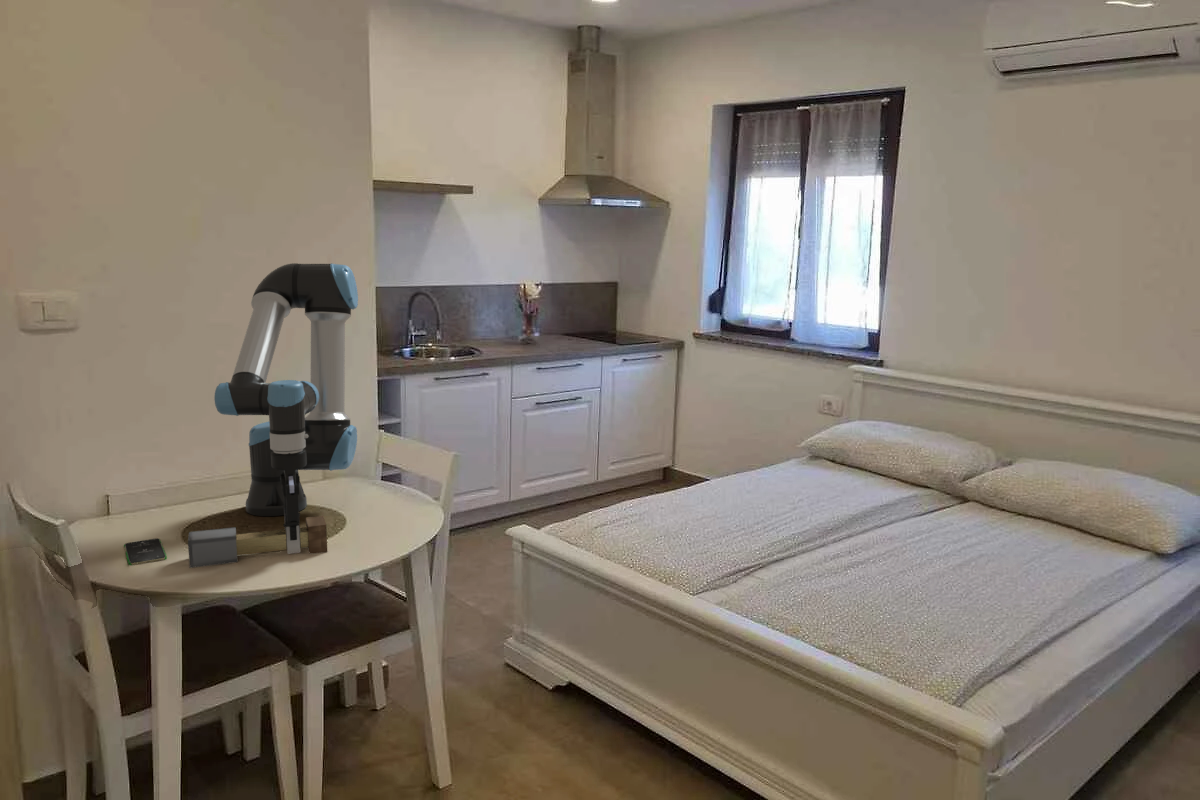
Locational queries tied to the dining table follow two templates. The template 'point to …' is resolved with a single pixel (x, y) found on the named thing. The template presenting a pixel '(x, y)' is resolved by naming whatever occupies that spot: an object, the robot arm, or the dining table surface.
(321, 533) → the socket block
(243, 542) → the tan sliding insert
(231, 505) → the dining table surface
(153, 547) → the black processor chip
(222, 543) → the outer sleeve
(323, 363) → the robot arm
